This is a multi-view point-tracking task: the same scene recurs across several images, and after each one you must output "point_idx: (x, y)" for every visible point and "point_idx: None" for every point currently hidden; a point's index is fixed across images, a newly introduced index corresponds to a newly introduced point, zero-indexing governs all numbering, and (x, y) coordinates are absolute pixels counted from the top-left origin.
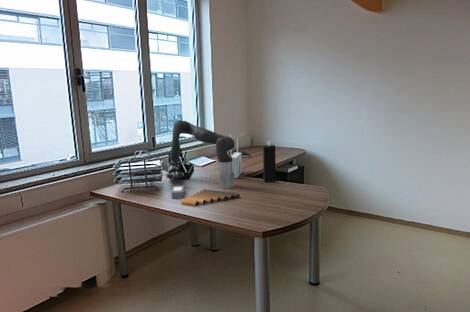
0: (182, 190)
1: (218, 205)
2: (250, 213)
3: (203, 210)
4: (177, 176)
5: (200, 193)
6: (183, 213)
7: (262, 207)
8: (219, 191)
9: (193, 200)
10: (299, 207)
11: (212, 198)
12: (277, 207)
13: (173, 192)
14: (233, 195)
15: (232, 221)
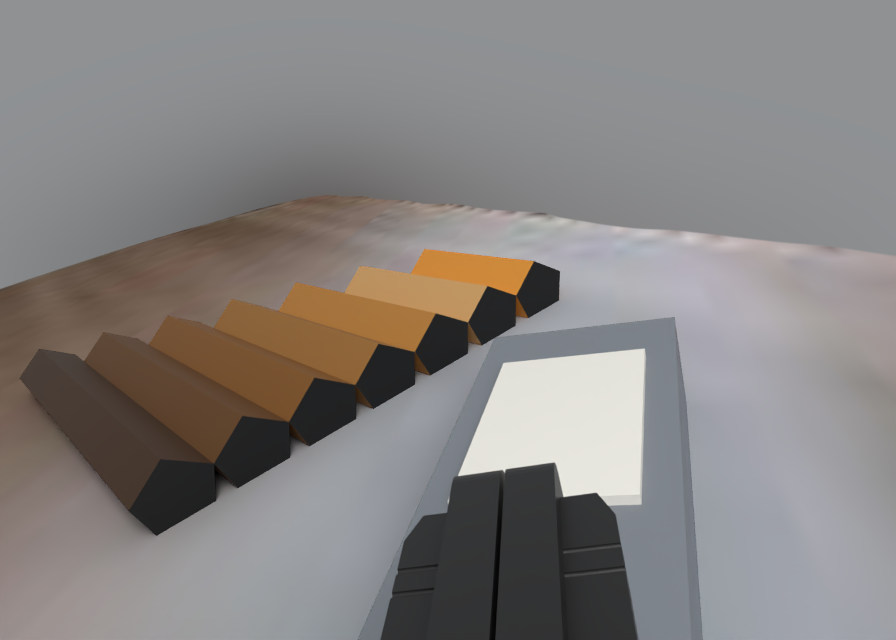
0: (488, 378)
1: None
2: (233, 254)
3: None
4: (429, 521)
5: (296, 367)
6: (562, 220)
7: (122, 293)
8: (92, 393)
9: (448, 252)
10: (7, 301)
11: (274, 310)
12: (71, 297)
13: (640, 323)
14: (79, 361)
15: (357, 211)
